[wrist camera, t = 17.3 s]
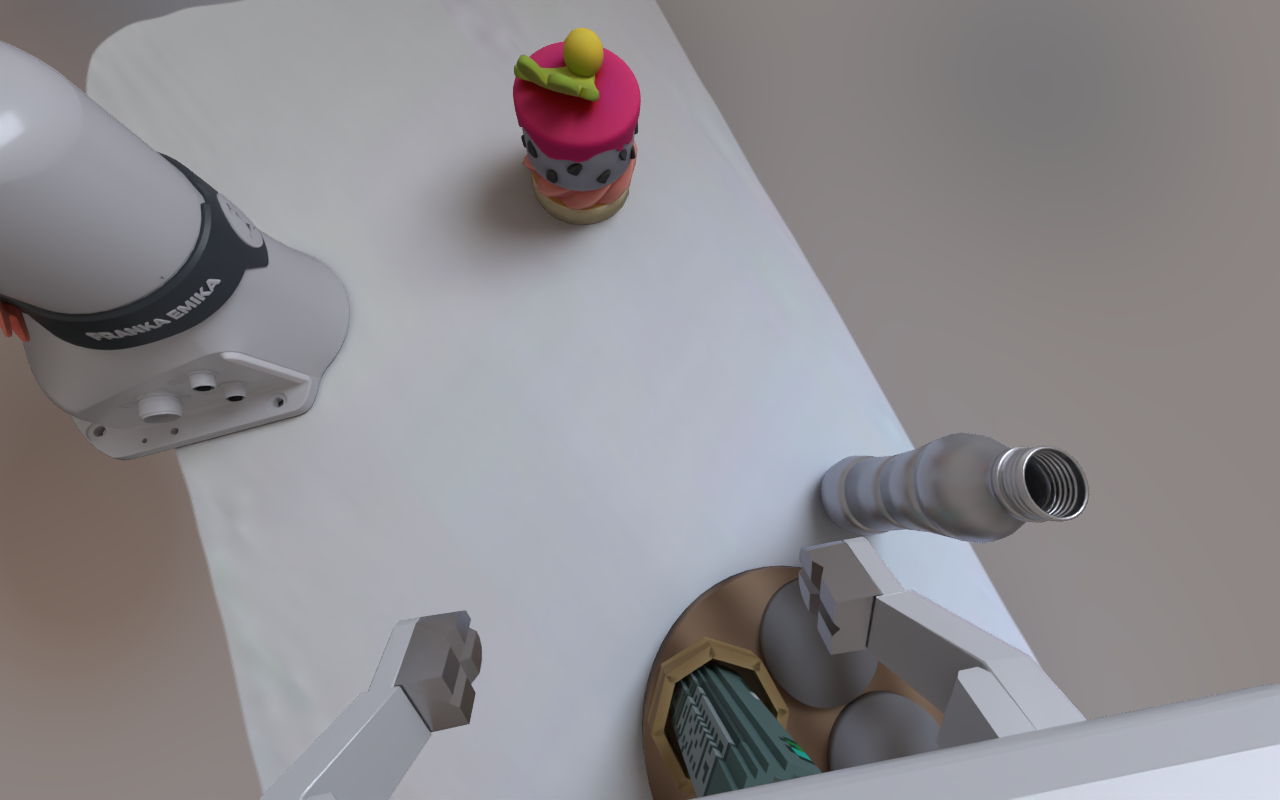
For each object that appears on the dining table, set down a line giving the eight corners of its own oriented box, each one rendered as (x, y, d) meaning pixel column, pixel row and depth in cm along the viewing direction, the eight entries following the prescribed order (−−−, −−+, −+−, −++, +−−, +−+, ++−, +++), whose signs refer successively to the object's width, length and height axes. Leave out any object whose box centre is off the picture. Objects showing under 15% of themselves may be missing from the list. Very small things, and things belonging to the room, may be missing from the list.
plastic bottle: (817, 536, 41) (1012, 559, 22) (807, 459, 43) (980, 418, 23) (885, 531, 42) (1134, 550, 22) (873, 456, 43) (1095, 414, 24)
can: (733, 766, 35) (830, 950, 20) (659, 733, 35) (702, 893, 20) (759, 682, 36) (867, 797, 22) (688, 650, 36) (748, 744, 22)
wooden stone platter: (742, 980, 33) (764, 1051, 29) (588, 663, 37) (587, 683, 33) (986, 779, 38) (1037, 814, 34) (826, 514, 42) (853, 515, 37)
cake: (545, 128, 49) (523, -35, 34) (643, 153, 49) (662, 3, 34) (516, 212, 46) (479, 75, 31) (620, 239, 46) (630, 115, 32)
